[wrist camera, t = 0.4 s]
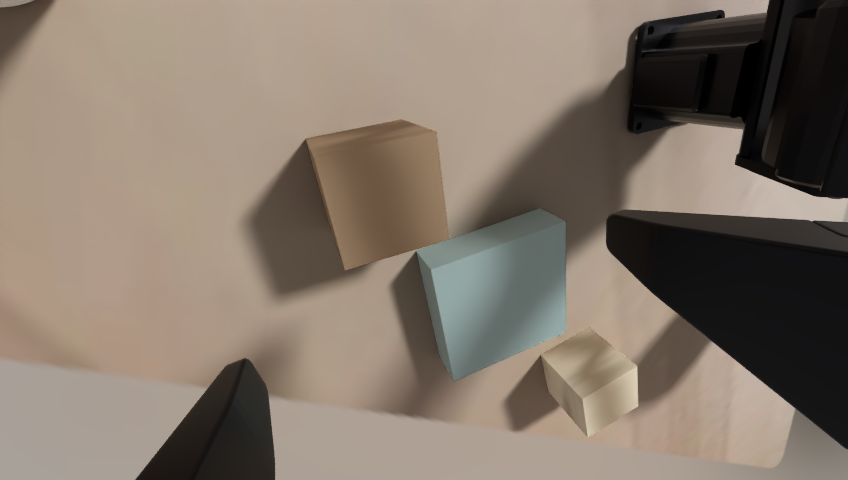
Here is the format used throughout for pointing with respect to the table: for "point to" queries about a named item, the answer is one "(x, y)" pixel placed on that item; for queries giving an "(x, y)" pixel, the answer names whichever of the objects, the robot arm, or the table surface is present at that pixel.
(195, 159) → the table surface
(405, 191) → the walnut cube
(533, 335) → the base block
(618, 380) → the beech cube
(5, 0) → the can
